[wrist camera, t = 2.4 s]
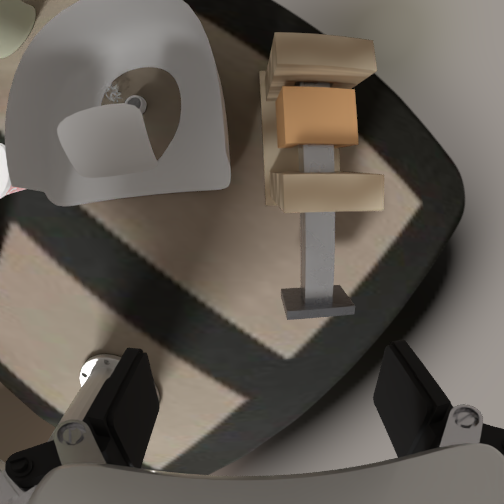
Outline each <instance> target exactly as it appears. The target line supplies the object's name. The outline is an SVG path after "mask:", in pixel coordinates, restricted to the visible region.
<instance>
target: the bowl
mask: <svg viewBox="0 0 504 504" xmlns="http://www.w3.org/2000/svg"><path fill="white" fill-rule="evenodd" d="M143 67H156V68H160V69H163V70H165V71H167V72H169V73H170V74H171V75H172V76H173V77H174V78H175V80H176V82H177V84H178V87H179V90H180V95H181V115H180V121H179V125H178V128H177V131H176V133H175V135H174V138H173V140H172V141H171V142H170V144H169V146H168V148H167V149H166V151H165V152H164V153H163V155H162V156H161V157H160V158H159V159H158V161H157V160H156V158H155V155H154V153H153V150H152V147H151V144H150V141H149V138H148V135H147V132H146V128H145V124H144V120H143V115H142V114H143V113H144V111H145V110H146V106H147V104H146V101H145V99H144V98H143V97H141V96H138V95H132V96H130V97H128V98H127V99H126V101H125V103H121V104H108V105H102V106H101V102H102V98H103V97H104V94H105V92H107V91H109V89H110V88H109V87H111V88H112V89H113V87H112V84H111V83H112V82H113V81H114V80H115V79H116V78H117V77H119V76H120V75H122V74H123V73H126V72H128V71H130V70H134V69H137V68H143ZM110 85H111V86H110ZM117 85H118V84H117ZM108 86H109V87H108ZM113 86H114V85H113ZM115 86H116V85H115ZM117 87H118V86H117ZM118 88H119V87H118ZM118 88H116V87H114V89H118ZM106 89H108V90H107V91H106ZM117 91H118V90H116V91H114V92H117ZM112 93H113V92H111V94H110V96H111V97H110V99H111V100H113V98H112V97H113V96H112ZM117 93H118V94H117V95H118V96H119V95H121V94H120V93H121V92H120V93H119V92H117ZM113 94H114V95H116V94H115V93H113ZM117 95H116V96H117ZM106 97H107V94H106ZM114 98H115V97H114ZM117 98H120V97H117ZM108 99H109V97H108ZM115 99H116V98H115ZM115 99H114V100H115ZM120 99H122V98H120ZM114 100H113V103H114ZM109 101H110V100H109ZM117 102H118V100H117ZM5 150H6V160H7V167H8V173H9V177H10V181H11V185H12V187H18V188H25V189H31V190H37V191H43V192H45V194H46V195H47V197H48V199H49V200H50V201H51V202H52V203H54V204H56V205H58V206H73V205H80V204H86V203H92V202H98V201H105V200H112V199H120V198H128V197H136V196H145V195H155V194H165V193H176V192H189V191H205V190H220V189H225V188H226V187H228V186H229V184H230V181H231V167H230V152H229V138H228V126H227V117H226V109H225V102H224V96H223V91H222V85H221V81H220V77H219V74H218V70H217V67H216V63H215V60H214V56H213V53H212V50H211V47H210V43H209V40H208V38H207V35H206V33H205V31H204V29H203V26H202V24H201V22H200V20H199V19H198V17H197V16H196V14H195V13H194V12H193V10H192V9H191V8H190V6H189V5H188V4H187V3H185V2H184V1H183V0H79V1H78V2H76V3H74V4H73V5H71V6H69V7H68V8H66V9H64V10H63V11H61V12H60V13H59V14H58V15H56V16H55V17H54V18H53V19H52V20H50V21H49V22H48V23H47V24H46V25H45V26H44V27H43V28H42V29H41V30H40V32H39V33H38V34H37V35H36V36H35V37H34V39H33V40H32V42H31V43H30V45H29V46H28V48H27V50H26V51H25V53H24V55H23V56H22V59H21V61H20V63H19V65H18V68H17V70H16V73H15V75H14V79H13V82H12V86H11V89H10V93H9V98H8V104H7V111H6V121H5ZM142 171H143V172H142Z"/></svg>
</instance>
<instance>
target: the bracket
mask: <svg viewBox="0 0 504 504" xmlns="http://www.w3.org/2000/svg"><path fill="white" fill-rule="evenodd" d="M376 71H377V65H376V58H375V51H374V44H373V41H372V40H366V39H360V38H352V37H343V36H334V35H323V34H309V33H282V32H275V34H274V39H273V43H272V48H271V52H270V57H269V62H268V66H267V71H259V80H260V99H261V118H262V138H263V159H264V182H265V205H266V206H273V205H278V206H279V207H280V208H281V210H282V211H283V212H284V213H304V212H340V211H384V175H381V174H370V173H358V172H344V171H340V154H339V148H334V171H335V172H318V173H300V172H299V154H298V145H297V146H294V147H292V148H278V143H277V123H276V104H275V102H276V99H277V97H278V95H279V93H280V91H281V88H282V86H295V83H296V82H323V83H330V88H343V89H352V88H353V87H354V86H356V85H357V84H359V83H360V82H362V81H363V80H365V79H366V78H367V77H369V76H370V75H372V74H373V73H375V72H376Z"/></svg>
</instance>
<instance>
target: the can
mask: <svg viewBox="0 0 504 504" xmlns="http://www.w3.org/2000/svg"><path fill="white" fill-rule="evenodd" d="M35 18H36V11H35V8H34V7H33V6H32V5H29V4H26V3H24V2H23V1H21V0H0V58H5V57H7V56H9V55H11V54H12V53H14V52H15V51H16V50H17V49H18V48H19V47H20V46H21V45H22V44H23V43H24V41H25V40H26V38H27V37H28V35H29V34H30V32H31V30H32V28H33V25H34V22H35Z"/></svg>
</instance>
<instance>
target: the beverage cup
mask: <svg viewBox="0 0 504 504" xmlns="http://www.w3.org/2000/svg"><path fill="white" fill-rule="evenodd" d="M24 189H25V188H18V187H12V185H11V181H10V177H9V173H8V167H7V160H6V150H5V145H3V144H2V143H0V198H2V197H3V196H5V195H8V194H11V193H14V192H17V191H21V190H24Z"/></svg>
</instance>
